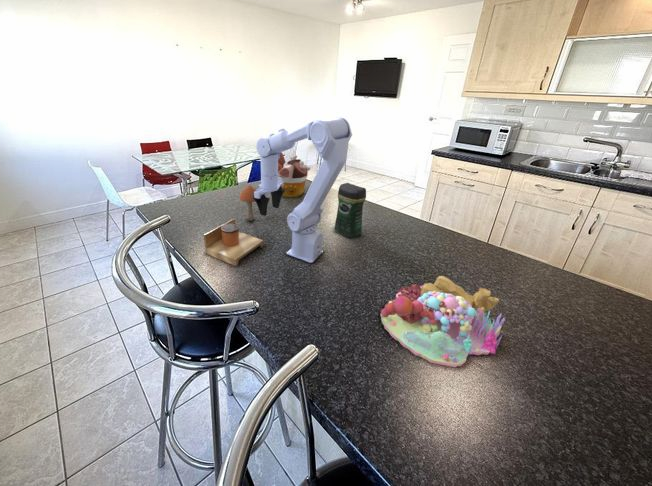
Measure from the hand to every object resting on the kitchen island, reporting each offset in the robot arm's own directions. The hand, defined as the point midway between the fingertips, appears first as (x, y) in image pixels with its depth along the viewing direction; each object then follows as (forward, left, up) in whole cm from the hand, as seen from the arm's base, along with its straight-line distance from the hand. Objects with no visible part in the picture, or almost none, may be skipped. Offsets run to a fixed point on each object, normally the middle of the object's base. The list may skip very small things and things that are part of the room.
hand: (269, 211), depth 103 cm
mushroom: (+13, -5, -10) cm, 17 cm away
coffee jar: (-23, -18, -10) cm, 31 cm away
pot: (+5, +15, -7) cm, 17 cm away
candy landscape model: (-58, +13, -10) cm, 60 cm away
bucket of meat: (+16, -40, -10) cm, 44 cm away
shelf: (+3, +15, -9) cm, 18 cm away
